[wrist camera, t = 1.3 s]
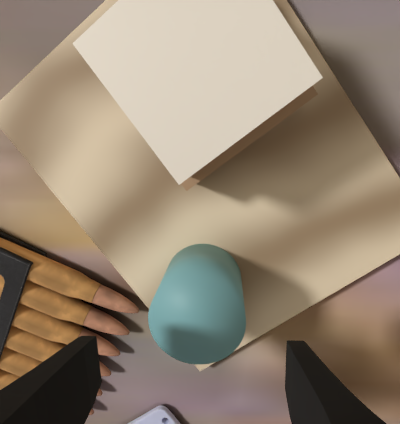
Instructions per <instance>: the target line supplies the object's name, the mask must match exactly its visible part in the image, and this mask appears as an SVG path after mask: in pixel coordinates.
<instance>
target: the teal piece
mask: <svg viewBox="0 0 400 424" xmlns="http://www.w3.org/2000/svg"><path fill="white" fill-rule="evenodd" d="M148 322H149V328H150V331H151V334H152V336H153V338H154V340H155V341H156V343H157V344H158V346H159V347H160V348H161V349H162V350H163V351H164V352H166V353H167V354H168V355H170V356H171V357H173V358H175V359H177V360H179V361H182V362H185V363H189V364H210V363H214V362H217V361H220V360H222V359H224V358H226V357H227V356H229V355H230V354H231V353H232V352H234V351H235V350H236V348H237V347H238V346H239V344H240V343H241V341H242V339H243V337H244V334H245V330H246V315H245V306H244V297H243V288H242V279H241V272H240V269H239V266H238V264H237V262H236V261H235V259H234V258H233V257H232V256H231V255H230V254H229V253H228V252H226V251H225V250H224V249H222V248H220V247H217V246H215V245H211V244H194V245H191V246H188V247H186V248H184V249H182V250H181V251H179V252H178V253H177V254H176V255H175V256H174V257H173V259H172V260H171V262H170V264H169V266H168V268H167V270H166V272H165V274H164V276H163V279H162V281H161V283H160V285H159V287H158V289H157V291H156V294H155V296H154V298H153V300H152V302H151V305H150V308H149V313H148Z"/></svg>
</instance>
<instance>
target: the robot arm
mask: <svg viewBox="0 0 400 424" xmlns="http://www.w3.org/2000/svg"><path fill="white" fill-rule="evenodd" d="M101 382H102V380H101V371H100V363H99V355H98V346H97V338H96V336H80V337H78V338H76V339H75V340H73V341H72V342H70V343H69V344H68V345H66V346H65V347H63V348H62V349H60V350H59V351H58V352H56V353H55V354H53V355H52V356H51V357H49V358H48V359H46V360H45V361H43V362H42V363H41V364H39V365H38V366H36V367H35V368H33V369H32V370H30V371H29V372H27V373H26V374H24V375H23V376H21V377H20V378H18V379H17V380H15V381H13V382H12V383H10V384H9V385H7V386H6V387H4V388H3V389H1V390H0V424H84V423H85V421H86V419H87V417H88V415H89V413H90V411H91V409H92V407H93V404H94V401H95V399H96V396H97V393H98V391H99V388H100V385H101ZM285 390H286V396H287V402H288V408H289V414H290V419H291V422H292V424H386V423H385V422H384V421H383V420H381V419H380V418H379V417H378V416H376V415H375V414H374V413H373V412H372V411H371V410H370V409H368V408H367V407H366V406H365V405H364V404H363V403H362V402H361V401H360V400H359V399H358V398H356V397H355V396H354V395H353V394H352V393H351V392H350V391H349V390H348V389H347V388H346V387H345V386H344V385H343V384H342V383H341V382H340V380H339V379H338V378H337V377H336V376H335V375H334V374H333V373H332V372H331V371H330V370H329V369H328V368H327V367H326V365H325V364H324V363H323V362H322V361H321V360H320V359H319V357H318V356H317V355H316V354H315V353H314V352H313V351H312V349H311V348H310V347H309V346H308V345H307V344H306V343H305V342H304V341H287V351H286V379H285ZM165 418H167V419H165ZM128 424H181V423H180V422H179V421H178V420H177V419H176V418H175V416H174V415H173V414H172V413H171V412H170V411H169V409H168V408H167V407H165V406H161V405H160V406H157V407H155V408H154V409H152V410H150V411H149V412H147V413H145V414H143V415H142V416H140V417H138V418H136V419H135V420H133V421H131V422H130V423H128Z"/></svg>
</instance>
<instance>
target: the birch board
mask: <svg viewBox="0 0 400 424" xmlns="http://www.w3.org/2000/svg"><path fill="white" fill-rule="evenodd" d="M117 1H118V0H105V1H104V2H103V3H102V4H101V5H100V6H99V7H98V8H97V9H96V10H95V11H94V12H93V13H92V14H91V15H90V16H89V17H88V18H86V19H85V20H84V21H83V22H82V23H81V24H80V25H79V26H78V27H77V28H76V29H75V30H74V31H73V32H72V33H71V34H70V35H69V36H68V37H67V38H65V39H64V40H63V41H62V42H61V43H60V44H59V45H58V46H57V47H56V48H55V49H54V50H53V51H52V52H51V53H50V54H49V55H48V56H47V57H46V58H44V59H43V60H42V61H41V62H40V63H39V64H38V65H37V66H36V67H35V68H34V69H33V70H32V71H31V72H30V73H29V74H28V75H27V76H26V77H25V78H23V79H22V80H21V81H20V82H19V83H18V84H17V85H16V86H15V87H14V88H13V89H12V90H11V91H10V92H9V93H8V94H7V95H6V96H5V97H4V98H2V99H1V100H0V129H1V130H2V131H3V132H4V134H5V135H6V136H7V137H8V138H9V140H10V141H11V142H12V143H13V144H14V146H15V147H16V148H17V149H18V151H19V152H20V153H21V154H22V155H23V157H24V158H25V159H26V160H27V161H28V163H29V164H30V165H31V166H32V168H33V169H34V170H35V171H36V172H37V174H38V175H39V176H40V177H41V179H42V180H43V181H44V182H45V183H46V185H47V186H48V187H49V188H50V189H51V191H52V192H53V193H54V194H55V196H56V197H57V198H58V199H59V200H60V202H61V203H62V204H63V205H64V206H65V208H66V209H67V210H68V211H69V213H70V214H71V215H72V216H73V217H74V219H75V220H76V221H77V222H78V224H79V225H80V226H81V227H82V228H83V230H84V231H85V232H86V233H87V234H88V236H89V237H90V238H91V239H92V241H93V242H94V243H95V244H96V245H97V247H98V248H99V249H100V250H101V251H102V253H103V254H104V255H105V256H106V258H107V259H108V260H109V261H110V262H111V264H112V265H113V266H114V267H115V269H116V270H117V271H118V272H119V273H120V275H121V276H122V277H123V278H124V279H125V281H126V282H127V283H128V284H129V286H130V287H131V288H132V289H133V290H134V292H135V293H136V294H137V295H138V296H139V298H140V299H141V300H142V301H143V303H144V304H145V305H146V306H147V307H148V309H149V308H150V305H151V302H152V300H153V298H154V296H155V294H156V291H157V289H158V287H159V285H160V283H161V281H162V279H163V276H164V274H165V272H166V270H167V268H168V266H169V264H170V262H171V260H172V259H173V257H174V256H175V255H176V254H177V253H178V252H179V251H181V250H182V249H184V248H186V247H188V246H191V245H194V244H211V245H215V246H217V247H220V248H222V249H224V250H225V251H226V252H228V253H229V254H230V255H231V256H232V257H233V258H234V259H235V261H236V262H237V264H238V266H239V269H240V272H241V279H242V288H243V297H244V306H245V315H246V330H245V334H244V337H243V339H242V341H241V343H240V344H239V346H238V347H237V348H236V350H237V349H239V348H241V347H242V346H244V345H246V344H247V343H249V342H251V341H253V340H254V339H256V338H258V337H259V336H261V335H263V334H264V333H266V332H268V331H270V330H271V329H273V328H275V327H276V326H278V325H280V324H282V323H283V322H285V321H287V320H288V319H290V318H292V317H293V316H295V315H297V314H299V313H300V312H302V311H304V310H305V309H307V308H309V307H311V306H312V305H314V304H316V303H317V302H319V301H321V300H323V299H324V298H326V297H328V296H329V295H331V294H333V293H334V292H336V291H338V290H340V289H341V288H343V287H345V286H346V285H348V284H350V283H352V282H353V281H355V280H357V279H358V278H360V277H362V276H363V275H365V274H367V273H369V272H370V271H372V270H374V269H375V268H377V267H379V266H381V265H382V264H384V263H386V262H387V261H389V260H391V259H392V258H394V257H396V256H398V255H399V254H400V178H399V176H398V174H397V173H396V171H395V170H394V168H393V167H392V165H391V163H390V162H389V160H388V159H387V157H386V156H385V154H384V152H383V151H382V149H381V148H380V146H379V145H378V143H377V141H376V140H375V138H374V137H373V135H372V134H371V132H370V130H369V129H368V127H367V126H366V124H365V123H364V121H363V119H362V118H361V116H360V115H359V113H358V112H357V110H356V108H355V107H354V105H353V104H352V102H351V101H350V99H349V97H348V96H347V94H346V93H345V91H344V90H343V88H342V86H341V85H340V83H339V82H338V80H337V79H336V77H335V75H334V74H333V72H332V71H331V69H330V68H329V66H328V64H327V63H326V61H325V60H324V58H323V57H322V55H321V53H320V52H319V50H318V49H317V47H316V46H315V44H314V42H313V41H312V39H311V38H310V36H309V35H308V33H307V31H306V30H305V28H304V27H303V25H302V24H301V22H300V20H299V19H298V17H297V16H296V14H295V13H294V11H293V9H292V8H291V6H290V5H289V3H288V2H287V0H273V1H274V3H275V4H276V6H277V7H278V9H279V10H280V12H281V13H282V15H283V17H284V18H285V20H286V21H287V23H288V24H289V26H290V27H291V29H292V31H293V32H294V34H295V35H296V37H297V38H298V40H299V41H300V43H301V45H302V46H303V48H304V49H305V51H306V52H307V54H308V55H309V57H310V59H311V60H312V62H313V63H314V65H315V66H316V68H317V69H318V71H319V73H320V74H321V76H322V77H323V78H322V79H320V80H319V81H318V82H316V83H315V84H314V85H312V86H313V87H314V89H315V90H316V92H317V93H318V95H316V96H315V97H314V98H312V99H311V100H310V101H308V102H307V103H306V104H304V105H303V106H301V107H300V108H299V109H297V110H296V111H295V112H293V113H292V114H291V115H289V116H288V117H287V118H285V119H284V120H282V121H281V122H280V123H278V124H277V125H276V126H274V127H273V128H272V129H270V130H269V131H268V132H266V133H265V134H264V135H262V136H261V137H259V138H258V139H257V140H255V141H254V142H253V143H251V144H250V145H249V146H247V147H246V148H245V149H243V150H242V151H240V152H239V153H238V154H236V155H235V156H234V157H232V158H231V159H230V160H228V161H227V162H226V163H224V164H223V165H221V166H220V167H219V168H217V169H216V170H215V171H213V172H212V173H211V174H209V175H208V176H207V177H205V178H204V179H202V180H201V181H200V182H198V183H197V184H196V185H194V186H193V187H192V188H190V189H189V190H188V191H186V190H185V188H184V187H183V186H182V184H180V185H179V184H178V183H177V182H176V180H175V179H174V178H173V177H172V175H171V174H170V173H169V171H168V170H167V169H166V167H165V166H164V165H163V163H162V162H161V161H160V159H159V158H158V157H157V155H156V154H155V153H154V151H153V150H152V149H151V147H150V146H149V145H148V143H147V142H146V141H145V139H144V138H143V137H142V135H141V134H140V133H139V131H138V130H137V129H136V127H135V126H134V125H133V123H132V122H131V121H130V119H129V118H128V117H127V115H126V114H125V113H124V111H123V110H122V109H121V107H120V106H119V105H118V104H117V102H116V101H115V100H114V98H113V97H112V96H111V94H110V93H109V92H108V90H107V89H106V88H105V86H104V85H103V84H102V82H101V81H100V80H99V78H98V77H97V76H96V74H95V73H94V72H93V70H92V69H91V68H90V66H89V65H88V64H87V62H86V61H85V60H84V58H83V57H82V56H81V54H80V53H79V52H78V50H77V49H76V48H75V46H74V45H73V44H72V43H73V42H74V41H76V40H77V39H78V38H79V37H80V36H81V35H82V34H83V33H84V32H85V31H86V30H87V29H88V28H89V27H90V26H91V25H92V24H94V23H95V22H96V21H97V20H98V19H99V18H100V17H101V16H102V15H103V14H104V13H105V12H106V11H107V10H108V9H109V8H111V7H112V6H113V5H114V4H115V3H116V2H117ZM214 363H215V362H214ZM212 364H213V363H210V364H194V365H195V366H196V367H197V368H198V369H199V371H201V370H203V369H205V368H206V367H208V366H210V365H212Z"/></svg>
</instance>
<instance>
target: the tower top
mask: <svg viewBox="0 0 400 424" xmlns="http://www.w3.org/2000/svg"><path fill="white" fill-rule="evenodd" d="M72 44H73V45H74V46H75V48H76V49H77V50H78V52H79V53H80V54H81V56H82V57H83V58H84V60H85V61H86V62H87V64H88V65H89V66H90V68H91V69H92V70H93V72H94V73H95V74H96V76H97V77H98V78H99V80H100V81H101V82H102V84H103V85H104V86H105V88H106V89H107V90H108V92H109V93H110V94H111V96H112V97H113V98H114V100H115V101H116V102H117V104H118V105H119V106H120V107H121V109H122V110H123V111H124V113H125V114H126V115H127V117H128V118H129V119H130V121H131V122H132V123H133V125H134V126H135V127H136V129H137V130H138V131H139V133H140V134H141V135H142V137H143V138H144V139H145V141H146V142H147V143H148V145H149V146H150V147H151V149H152V150H153V151H154V153H155V154H156V155H157V157H158V158H159V159H160V161H161V162H162V163H163V165H164V166H165V167H166V169H167V170H168V171H169V173H170V174H171V175H172V177H173V178H174V179H175V180H176V182H177V183H178V184H179V185H180V184H181V183H182V182H184V181H185V180H186V179H188V178H189V177H190V176H192V175H193V174H194V173H196V172H197V171H198V170H200V169H201V168H202V167H204V166H205V165H207V164H208V163H209V162H211V161H212V160H213V159H215V158H216V157H217V156H219V155H220V154H221V153H223V152H224V151H225V150H227V149H228V148H229V147H231V146H232V145H233V144H235V143H236V142H237V141H239V140H240V139H241V138H243V137H244V136H245V135H247V134H248V133H249V132H251V131H252V130H253V129H255V128H256V127H257V126H259V125H260V124H261V123H263V122H264V121H265V120H267V119H268V118H269V117H271V116H272V115H273V114H275V113H276V112H278V111H279V110H280V109H282V108H283V107H284V106H286V105H287V104H288V103H290V102H291V101H292V100H294V99H295V98H296V97H298V96H299V95H300V94H302V93H303V92H304V91H306V90H307V89H308V88H310V87H311V86H312V85H314V84H315V83H316V82H318V81H319V80H320V79H322V78H323V77H322V76H321V74H320V73H319V71H318V69H317V68H316V66H315V65H314V63H313V62H312V60H311V59H310V57H309V55H308V54H307V52H306V51H305V49H304V48H303V46H302V45H301V43H300V41H299V40H298V38H297V37H296V35H295V34H294V32H293V31H292V29H291V27H290V26H289V24H288V23H287V21H286V20H285V18H284V17H283V15H282V13H281V12H280V10H279V9H278V7H277V6H276V4H275V3H274V1H273V0H118V1H117V2H116V3H115V4H114V5H113V6H112V7H111V8H109V9H108V10H107V11H106V12H105V13H104V14H103V15H102V16H101V17H100V18H99V19H98V20H97V21H96V22H95V23H94V24H92V25H91V26H90V27H89V28H88V29H87V30H86V31H85V32H84V33H83V34H82V35H81V36H80V37H79V38H78V39H77V40H76V41H74V42H73V43H72Z"/></svg>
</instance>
